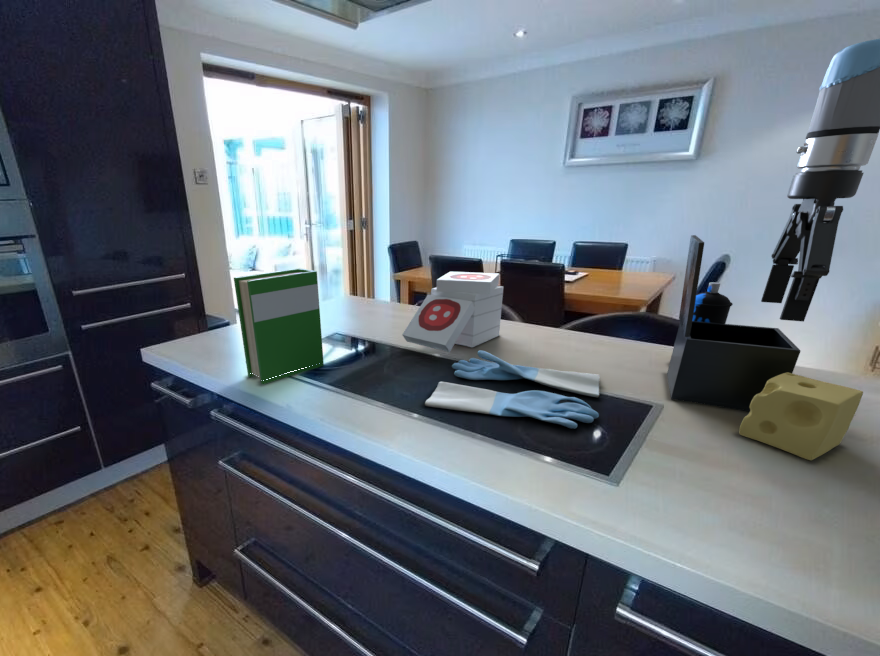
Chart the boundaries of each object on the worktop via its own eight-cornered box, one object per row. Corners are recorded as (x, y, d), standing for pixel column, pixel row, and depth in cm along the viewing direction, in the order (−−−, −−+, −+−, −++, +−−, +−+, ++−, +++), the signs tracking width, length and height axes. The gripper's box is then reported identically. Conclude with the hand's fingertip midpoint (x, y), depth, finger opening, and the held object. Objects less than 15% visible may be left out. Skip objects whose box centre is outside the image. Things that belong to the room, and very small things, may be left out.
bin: (758, 386, 94) (778, 328, 89) (776, 415, 82) (801, 350, 77) (666, 373, 102) (680, 320, 97) (670, 399, 90) (686, 339, 85)
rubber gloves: (601, 436, 77) (608, 402, 74) (423, 406, 90) (423, 377, 87) (598, 380, 100) (603, 353, 97) (456, 363, 113) (457, 338, 110)
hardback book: (262, 384, 103) (249, 281, 94) (248, 376, 108) (233, 277, 99) (323, 365, 114) (316, 271, 104) (307, 358, 119) (299, 268, 109)
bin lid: (695, 235, 90) (690, 235, 91) (704, 242, 78) (699, 242, 78) (683, 318, 97) (678, 317, 97) (689, 337, 84) (684, 336, 85)
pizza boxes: (397, 346, 126) (396, 283, 119) (456, 324, 146) (459, 269, 139) (452, 361, 114) (455, 291, 107) (509, 335, 133) (516, 274, 126)
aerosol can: (695, 360, 109) (717, 279, 101) (721, 372, 102) (748, 285, 94) (663, 362, 109) (683, 280, 101) (687, 374, 101) (711, 287, 93)
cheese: (736, 434, 76) (754, 381, 72) (768, 420, 80) (787, 369, 76) (814, 464, 67) (840, 405, 63) (845, 445, 72) (870, 389, 68)
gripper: (775, 173, 77) (739, 294, 85) (822, 168, 57) (768, 326, 65) (834, 171, 73) (790, 297, 82) (905, 164, 54) (837, 332, 62)
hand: (780, 310), depth 73 cm, fingers open, 13 cm apart
